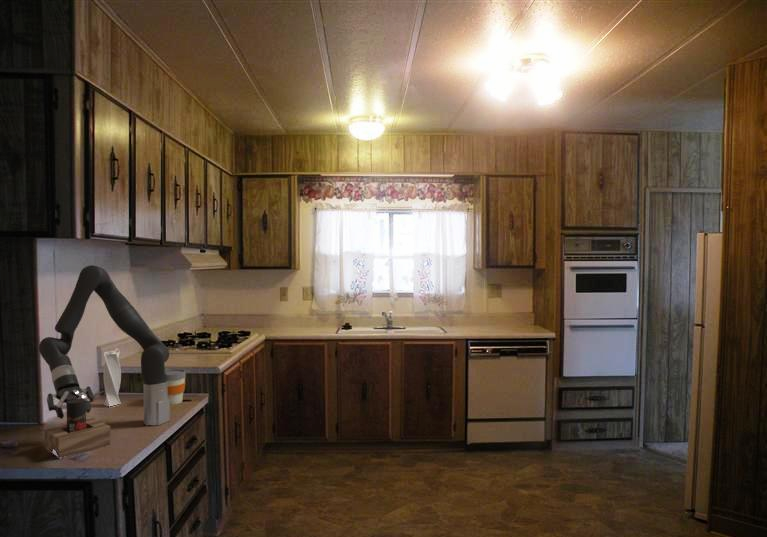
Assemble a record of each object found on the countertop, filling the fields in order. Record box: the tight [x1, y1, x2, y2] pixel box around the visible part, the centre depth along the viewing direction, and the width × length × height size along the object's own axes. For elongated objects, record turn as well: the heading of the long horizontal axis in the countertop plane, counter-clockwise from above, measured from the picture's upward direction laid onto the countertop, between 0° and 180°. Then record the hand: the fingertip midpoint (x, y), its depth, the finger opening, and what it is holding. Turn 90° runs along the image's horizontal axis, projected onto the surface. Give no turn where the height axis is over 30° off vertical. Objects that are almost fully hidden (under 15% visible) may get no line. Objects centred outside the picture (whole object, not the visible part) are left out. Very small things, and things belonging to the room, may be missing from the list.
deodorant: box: [65, 399, 87, 433], centre depth 164 cm, size 6×6×15 cm
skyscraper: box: [102, 347, 122, 408], centre depth 216 cm, size 8×8×28 cm
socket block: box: [44, 417, 111, 458], centre depth 164 cm, size 16×16×7 cm
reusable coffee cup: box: [165, 369, 187, 406], centre depth 219 cm, size 13×12×15 cm
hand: (75, 414), depth 165 cm, fingers open, 8 cm apart
